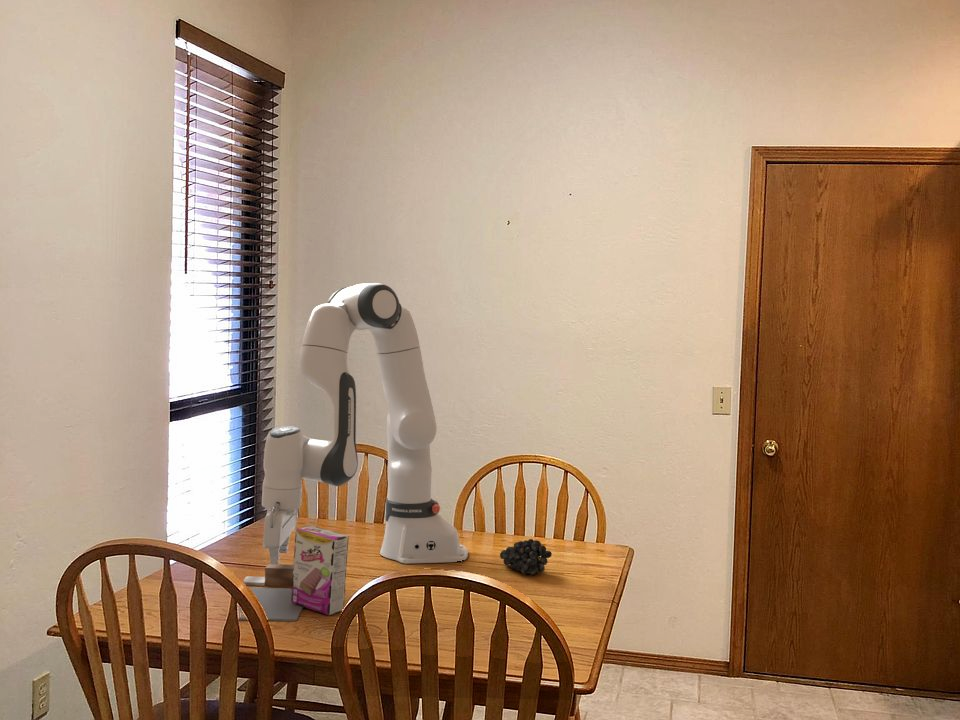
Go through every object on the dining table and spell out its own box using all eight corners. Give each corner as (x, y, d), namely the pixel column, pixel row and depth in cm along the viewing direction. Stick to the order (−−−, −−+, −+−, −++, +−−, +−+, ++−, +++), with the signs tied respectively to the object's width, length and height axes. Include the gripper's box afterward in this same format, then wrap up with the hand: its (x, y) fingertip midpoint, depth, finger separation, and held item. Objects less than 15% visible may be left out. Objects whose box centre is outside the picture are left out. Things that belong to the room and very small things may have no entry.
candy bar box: (289, 603, 210) (294, 528, 209) (305, 598, 214) (310, 524, 213) (328, 616, 204) (334, 539, 202) (344, 611, 208) (350, 534, 207)
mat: (311, 590, 221) (311, 588, 221) (296, 621, 201) (296, 619, 201) (248, 589, 220) (248, 587, 220) (227, 619, 200) (227, 617, 200)
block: (302, 581, 228) (303, 564, 227) (299, 587, 223) (300, 569, 223) (246, 579, 228) (246, 562, 227) (242, 585, 223) (242, 568, 223)
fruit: (495, 528, 245) (537, 540, 234) (518, 534, 251) (560, 546, 239) (486, 562, 244) (528, 576, 233) (510, 568, 249) (551, 581, 238)
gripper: (286, 509, 214) (283, 571, 215) (303, 490, 234) (301, 547, 235) (257, 507, 214) (254, 570, 215) (277, 488, 234) (274, 545, 235)
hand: (279, 557), depth 225 cm, fingers open, 8 cm apart
